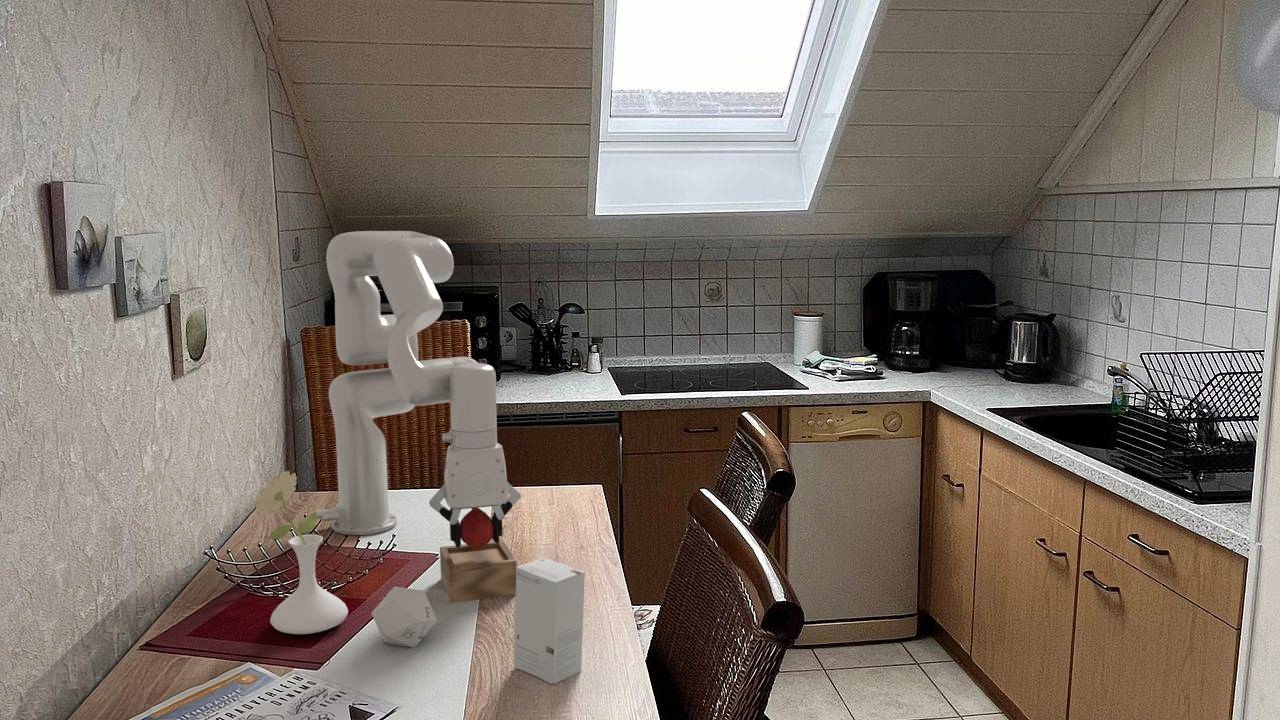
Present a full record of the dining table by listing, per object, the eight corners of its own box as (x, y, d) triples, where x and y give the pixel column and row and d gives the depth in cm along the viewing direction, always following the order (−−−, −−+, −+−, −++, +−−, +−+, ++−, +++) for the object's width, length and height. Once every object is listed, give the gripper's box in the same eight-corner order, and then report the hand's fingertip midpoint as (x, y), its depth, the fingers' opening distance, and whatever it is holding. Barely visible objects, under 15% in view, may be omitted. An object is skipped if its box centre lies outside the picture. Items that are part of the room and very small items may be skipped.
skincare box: (512, 668, 139) (510, 566, 137) (543, 654, 144) (542, 555, 141) (555, 686, 134) (554, 581, 131) (586, 671, 138) (585, 568, 136)
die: (388, 664, 142) (428, 610, 142) (350, 624, 145) (389, 571, 145) (418, 660, 149) (456, 609, 149) (381, 623, 153) (419, 572, 153)
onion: (497, 545, 171) (496, 500, 170) (489, 557, 165) (488, 510, 164) (464, 544, 171) (463, 499, 170) (455, 555, 166) (454, 509, 164)
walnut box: (450, 602, 162) (449, 568, 161) (440, 579, 172) (439, 547, 172) (516, 594, 166) (516, 560, 165) (503, 571, 176) (503, 540, 175)
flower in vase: (326, 605, 161) (319, 454, 157) (362, 626, 153) (355, 468, 149) (247, 628, 152) (237, 469, 148) (280, 652, 144) (271, 484, 140)
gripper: (424, 447, 159) (427, 555, 162) (530, 439, 165) (531, 544, 167) (418, 437, 166) (422, 540, 169) (520, 429, 172) (521, 530, 174)
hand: (476, 541), depth 168 cm, fingers closed on onion, 5 cm apart
